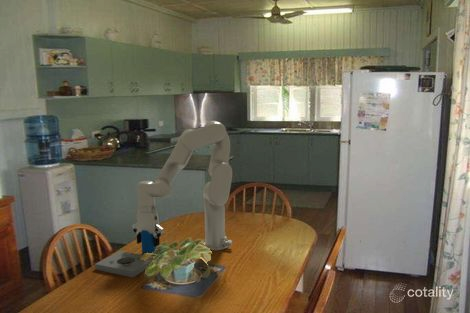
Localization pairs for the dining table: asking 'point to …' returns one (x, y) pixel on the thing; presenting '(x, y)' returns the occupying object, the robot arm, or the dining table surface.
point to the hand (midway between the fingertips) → (148, 244)
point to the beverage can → (147, 242)
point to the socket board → (123, 257)
